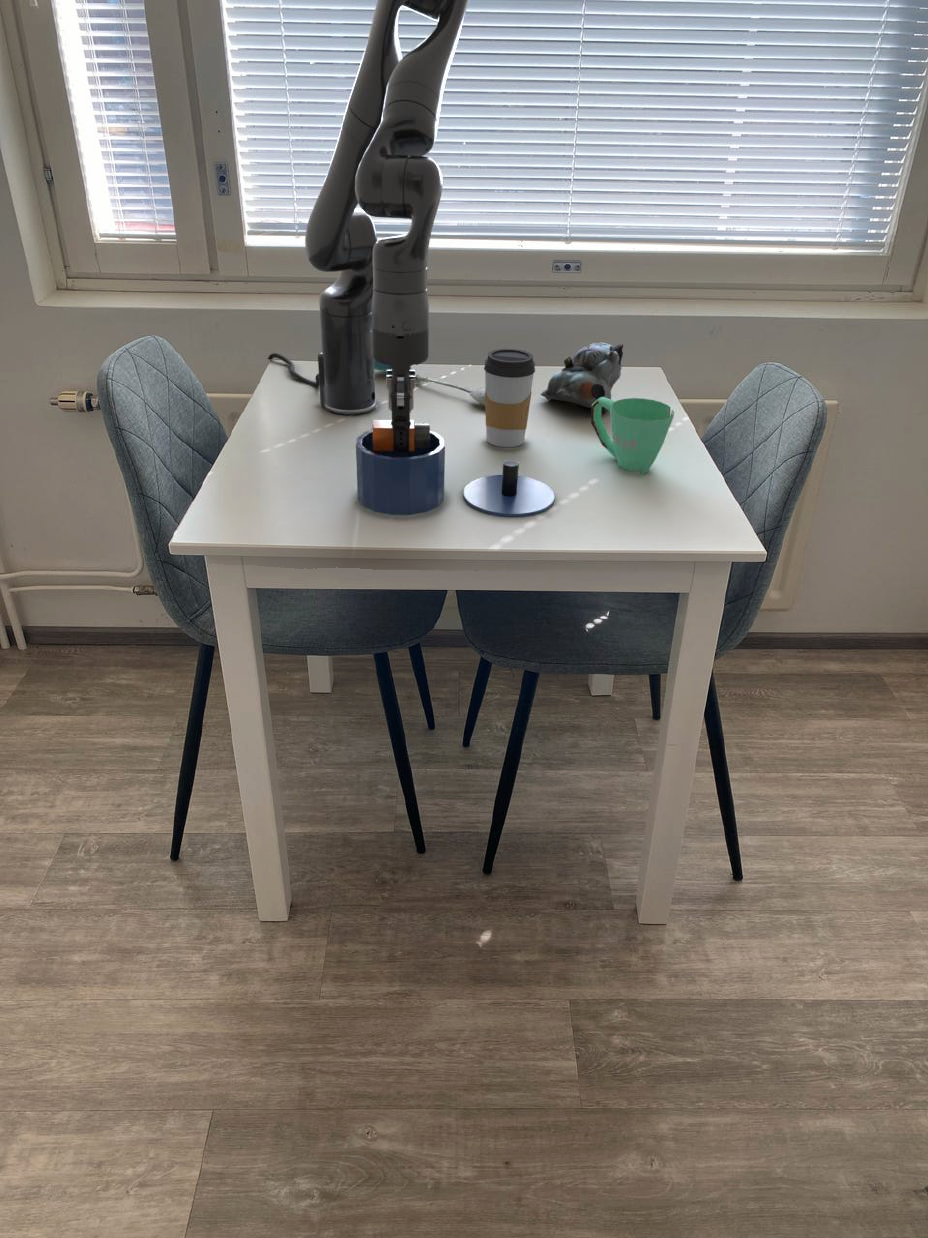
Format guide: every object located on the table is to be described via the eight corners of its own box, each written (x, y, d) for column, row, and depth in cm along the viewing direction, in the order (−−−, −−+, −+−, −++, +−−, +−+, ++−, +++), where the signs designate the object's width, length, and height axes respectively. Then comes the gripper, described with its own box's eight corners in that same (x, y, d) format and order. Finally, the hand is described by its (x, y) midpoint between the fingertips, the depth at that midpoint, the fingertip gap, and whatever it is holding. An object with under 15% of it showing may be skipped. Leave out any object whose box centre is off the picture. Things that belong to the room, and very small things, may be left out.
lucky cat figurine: (533, 394, 173) (562, 324, 170) (587, 418, 176) (616, 350, 174) (555, 397, 159) (587, 322, 156) (613, 424, 162) (645, 350, 160)
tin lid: (465, 520, 127) (466, 482, 124) (461, 480, 139) (462, 444, 136) (560, 521, 128) (563, 483, 125) (548, 481, 140) (551, 445, 136)
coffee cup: (525, 455, 148) (532, 365, 140) (476, 449, 149) (480, 360, 141) (532, 437, 155) (539, 350, 147) (485, 432, 156) (489, 345, 148)
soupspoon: (493, 417, 164) (515, 410, 169) (495, 399, 162) (517, 392, 167) (405, 385, 175) (427, 379, 179) (406, 368, 173) (428, 362, 178)
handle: (373, 451, 126) (372, 428, 125) (373, 441, 129) (373, 419, 127) (429, 451, 127) (430, 428, 125) (429, 442, 130) (429, 419, 128)
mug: (676, 470, 145) (687, 410, 139) (638, 486, 139) (647, 424, 134) (607, 443, 154) (614, 386, 148) (568, 457, 148) (574, 398, 143)
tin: (356, 518, 127) (353, 458, 122) (360, 481, 137) (358, 425, 133) (444, 518, 128) (446, 459, 123) (442, 481, 138) (443, 426, 133)
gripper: (373, 309, 124) (376, 428, 134) (370, 338, 113) (373, 465, 122) (427, 310, 125) (427, 428, 134) (429, 338, 113) (428, 466, 122)
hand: (401, 445), depth 128 cm, fingers closed on handle, 3 cm apart
